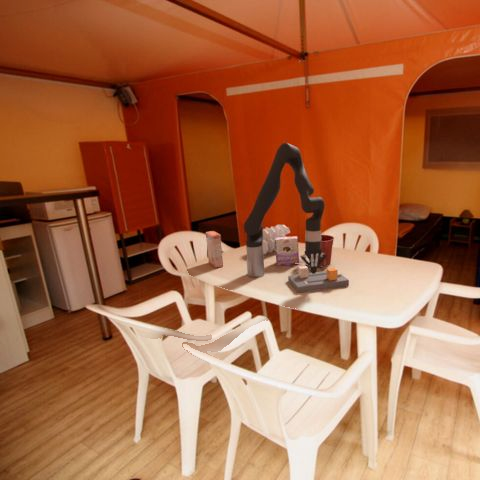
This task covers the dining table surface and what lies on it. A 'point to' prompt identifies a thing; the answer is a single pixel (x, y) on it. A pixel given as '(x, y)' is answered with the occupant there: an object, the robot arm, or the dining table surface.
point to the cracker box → (214, 249)
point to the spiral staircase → (273, 237)
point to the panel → (316, 282)
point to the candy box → (286, 250)
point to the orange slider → (332, 274)
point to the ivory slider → (303, 271)
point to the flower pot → (326, 249)
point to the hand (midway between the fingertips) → (313, 273)
